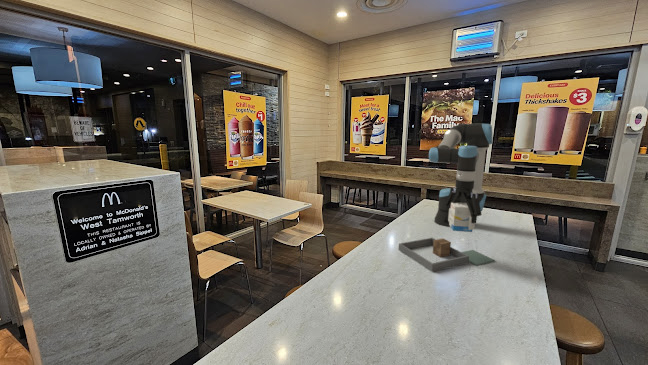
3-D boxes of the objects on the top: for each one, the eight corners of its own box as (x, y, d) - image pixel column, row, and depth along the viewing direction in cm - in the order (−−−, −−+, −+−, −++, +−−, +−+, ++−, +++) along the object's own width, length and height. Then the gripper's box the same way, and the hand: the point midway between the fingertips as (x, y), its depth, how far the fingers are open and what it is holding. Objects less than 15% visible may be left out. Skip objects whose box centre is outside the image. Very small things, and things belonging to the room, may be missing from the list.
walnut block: (432, 253, 136) (433, 240, 135) (441, 251, 138) (443, 238, 137) (440, 257, 131) (441, 244, 130) (449, 255, 134) (450, 242, 132)
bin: (398, 249, 139) (398, 243, 139) (431, 243, 147) (431, 237, 147) (431, 271, 118) (432, 264, 117) (468, 263, 126) (469, 256, 125)
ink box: (472, 232, 123) (475, 207, 121) (452, 230, 125) (454, 206, 123) (467, 225, 131) (469, 202, 129) (448, 224, 133) (450, 201, 131)
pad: (455, 254, 134) (455, 253, 134) (472, 250, 138) (472, 249, 138) (476, 265, 123) (476, 264, 123) (494, 261, 127) (494, 260, 127)
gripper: (439, 176, 133) (436, 218, 138) (481, 185, 112) (476, 235, 116) (451, 175, 136) (447, 216, 140) (494, 184, 114) (488, 232, 118)
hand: (460, 224), depth 128 cm, fingers closed on ink box, 11 cm apart
